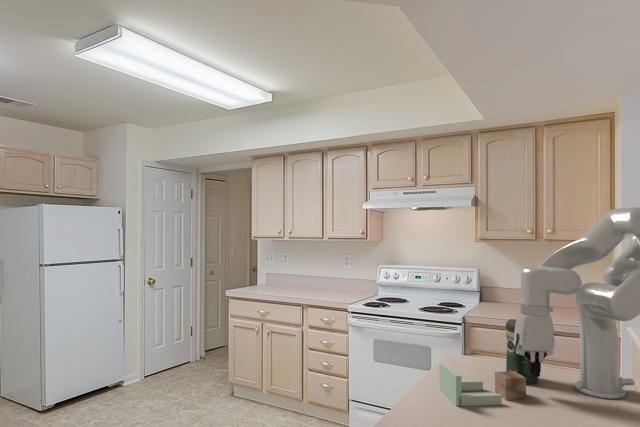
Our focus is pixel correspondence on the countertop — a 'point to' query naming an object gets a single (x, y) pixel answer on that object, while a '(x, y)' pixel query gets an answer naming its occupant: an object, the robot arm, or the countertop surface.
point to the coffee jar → (516, 355)
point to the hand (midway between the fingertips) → (534, 375)
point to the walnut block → (510, 385)
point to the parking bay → (464, 389)
